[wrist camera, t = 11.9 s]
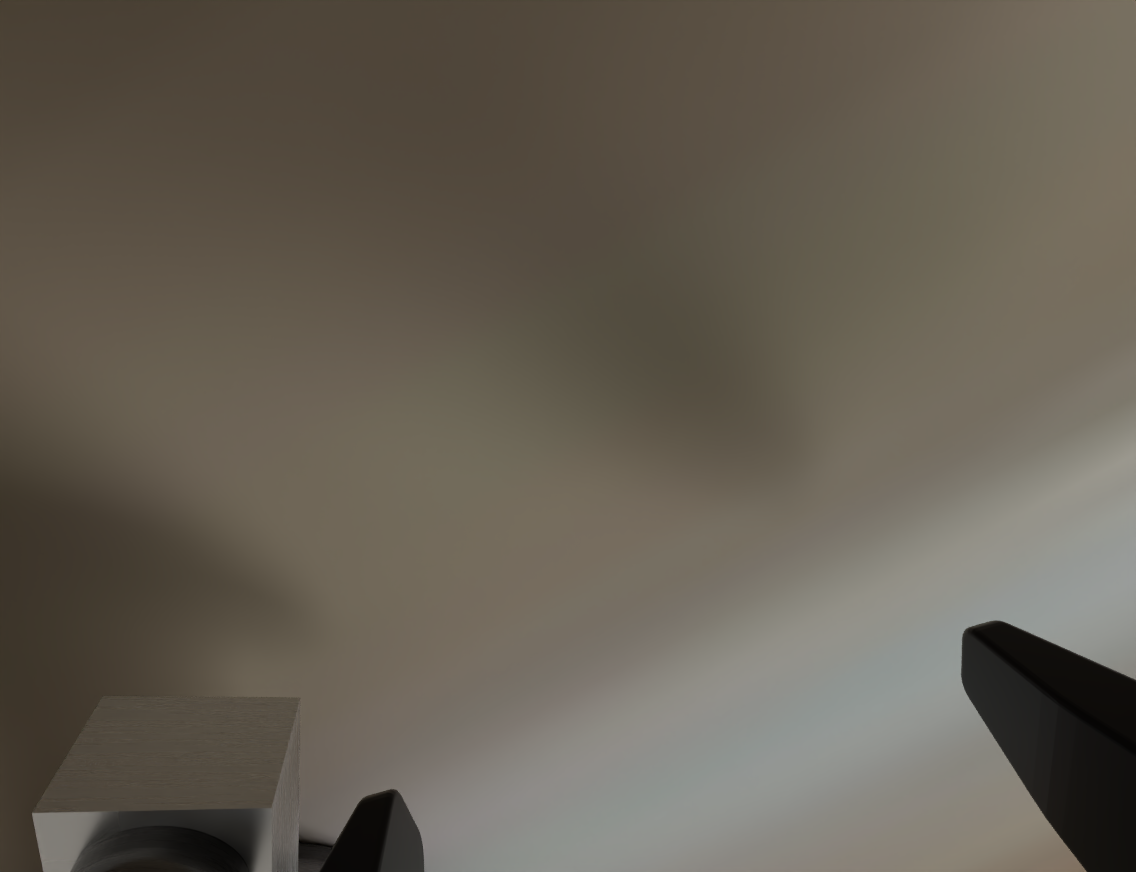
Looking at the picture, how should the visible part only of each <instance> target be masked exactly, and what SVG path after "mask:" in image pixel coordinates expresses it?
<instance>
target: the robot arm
mask: <svg viewBox="0 0 1136 872" xmlns="http://www.w3.org/2000/svg"><path fill="white" fill-rule="evenodd" d="M961 677H962V683H963V686H964V689H965V691H966V693H967V695H968V697H969V699H970V700H971V702H972V703H973V705H974V707H975V708H976V710H977V711H978V713H979V714H980V716H981V718H982V719H983V721H984V722H985V724H986V726H987V727H988V729H989V730H990V732H991V733H992V735H993V737H994V738H995V740H996V741H997V743H998V744H999V746H1000V748H1001V749H1002V751H1003V752H1004V754H1005V755H1006V757H1007V759H1008V760H1009V762H1010V763H1011V765H1012V766H1013V768H1014V770H1015V771H1016V773H1017V774H1018V776H1019V778H1020V779H1021V781H1022V782H1023V784H1024V785H1025V787H1026V789H1027V790H1028V792H1029V793H1030V795H1031V796H1032V798H1033V799H1034V801H1035V802H1036V804H1037V805H1038V807H1039V808H1040V810H1041V811H1042V813H1043V814H1044V816H1045V817H1046V819H1047V820H1048V821H1049V823H1050V824H1051V825H1052V827H1053V828H1054V830H1055V831H1056V832H1057V834H1058V835H1059V836H1060V838H1061V839H1062V840H1063V842H1064V843H1065V844H1066V845H1067V847H1068V848H1069V849H1070V851H1071V852H1072V853H1073V854H1074V856H1075V857H1076V858H1077V860H1078V861H1079V862H1080V863H1081V865H1082V866H1083V867H1084V869H1085V870H1086V871H1087V872H1136V680H1135V679H1133V678H1130V677H1128V676H1126V675H1124V674H1121V673H1119V672H1117V671H1114V670H1112V669H1110V668H1108V667H1105V666H1103V665H1101V664H1099V663H1096V662H1094V661H1092V660H1090V659H1087V658H1085V657H1083V656H1081V655H1078V654H1076V653H1074V652H1071V651H1069V650H1067V649H1065V648H1062V647H1060V646H1058V645H1056V644H1053V643H1051V642H1049V641H1047V640H1044V639H1042V638H1040V637H1038V636H1035V635H1033V634H1031V633H1028V632H1026V631H1024V630H1022V629H1019V628H1017V627H1015V626H1013V625H1010V624H1008V623H1005V622H1002V621H990V622H986V623H982V624H979V625H975V626H972V627H969V628H967V629H966V630H965V631H964V633H963V637H962V666H961ZM319 872H424V855H423V845H422V839H421V835H420V832H419V830H418V828H417V826H416V824H415V822H414V820H413V818H412V816H411V814H410V812H409V810H408V808H407V806H406V804H405V802H404V800H403V798H402V796H401V795H400V793H399V792H398V791H397V790H394V789H390V790H386V791H383V792H379V793H376V794H372V795H369V796H366V797H364V798H363V799H362V800H361V801H360V802H359V803H358V805H357V806H356V808H355V810H354V812H353V813H352V815H351V817H350V818H349V820H348V822H347V824H346V825H345V827H344V829H343V831H342V832H341V834H340V836H339V838H338V839H337V841H336V843H335V844H334V846H333V848H332V850H331V851H330V853H329V855H328V857H327V858H326V860H325V862H324V863H323V865H322V867H321V869H320V870H319Z"/></svg>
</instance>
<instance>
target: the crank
mask: <svg viewBox="0 0 1136 872" xmlns="http://www.w3.org/2000/svg"><path fill="white" fill-rule="evenodd" d="M299 764H300V698H286V697H166V696H103V697H102V698H101V700H100V701H99V703H98V705H97V706H96V708H95V710H94V711H93V713H92V715H91V716H90V718H89V720H88V721H87V723H86V725H85V726H84V728H83V730H82V731H81V733H80V734H79V736H78V738H77V739H76V741H75V743H74V744H73V746H72V748H71V749H70V751H69V753H68V754H67V756H66V758H65V759H64V761H63V763H62V764H61V766H60V767H59V769H58V771H57V772H56V774H55V776H54V777H53V779H52V781H51V782H50V784H49V786H48V787H47V789H46V791H45V792H44V794H43V796H42V797H41V799H40V800H39V802H38V804H37V805H36V807H35V809H34V810H33V812H32V816H33V821H34V827H35V832H36V837H37V842H38V847H39V852H40V857H41V862H42V868H43V872H298V841H299Z"/></svg>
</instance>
